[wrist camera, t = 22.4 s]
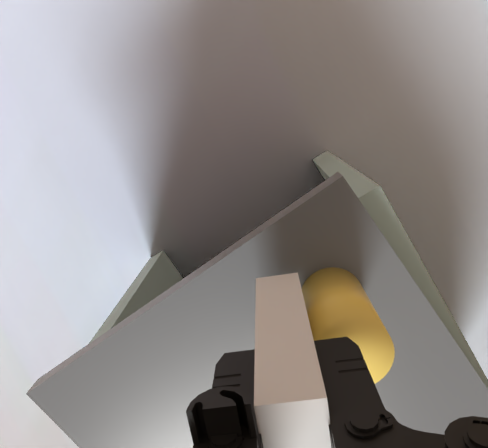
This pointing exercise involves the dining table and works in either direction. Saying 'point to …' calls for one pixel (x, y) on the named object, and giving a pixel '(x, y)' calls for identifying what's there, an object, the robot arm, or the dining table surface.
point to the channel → (379, 208)
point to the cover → (243, 332)
